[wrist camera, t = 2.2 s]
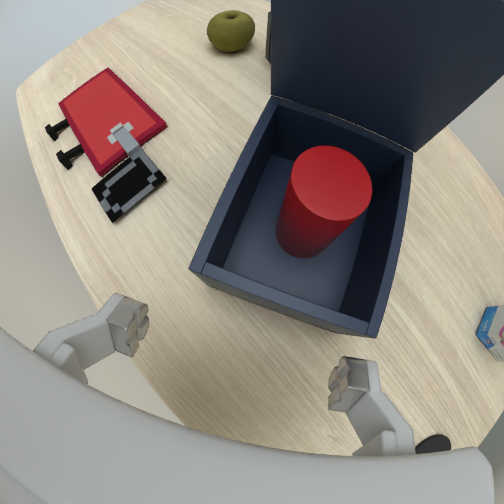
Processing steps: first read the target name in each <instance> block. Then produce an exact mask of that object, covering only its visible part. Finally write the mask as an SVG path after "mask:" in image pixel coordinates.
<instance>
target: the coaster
mask: <svg viewBox="0 0 504 504" xmlns="http://www.w3.org/2000/svg"><path fill="white" fill-rule="evenodd" d="M448 450H451V442H450V440H449V438H447V437H446V436H444V435H433V436H431V437H429V438H427V439H425V440H424V441H422V442H421V443H420V444H419V445H417V446H416V447H415V452H416V454H425V453H434V452H441V451H448Z"/></svg>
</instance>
